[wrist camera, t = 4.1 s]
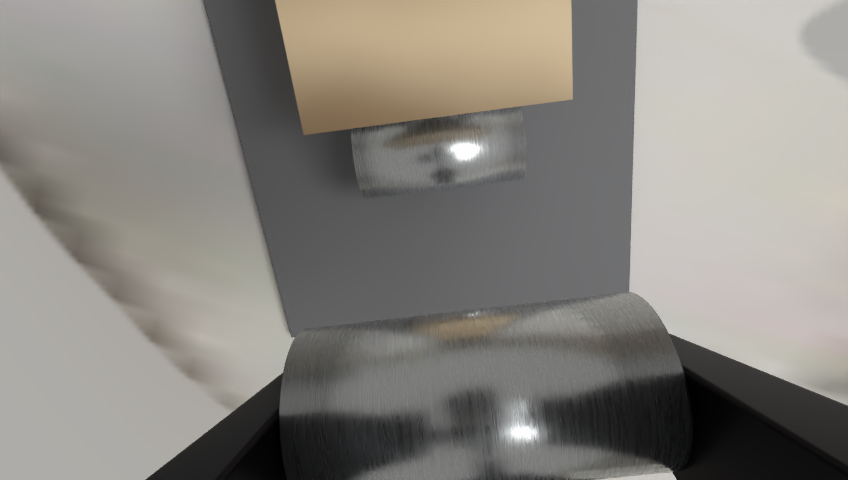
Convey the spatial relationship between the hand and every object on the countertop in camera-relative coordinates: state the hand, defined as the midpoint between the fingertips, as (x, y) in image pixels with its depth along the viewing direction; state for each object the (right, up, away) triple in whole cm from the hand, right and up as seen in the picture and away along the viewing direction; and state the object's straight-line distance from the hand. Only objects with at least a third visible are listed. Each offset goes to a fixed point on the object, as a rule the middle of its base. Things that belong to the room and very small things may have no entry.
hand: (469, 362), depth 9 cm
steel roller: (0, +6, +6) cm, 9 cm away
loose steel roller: (0, 0, +1) cm, 1 cm away
